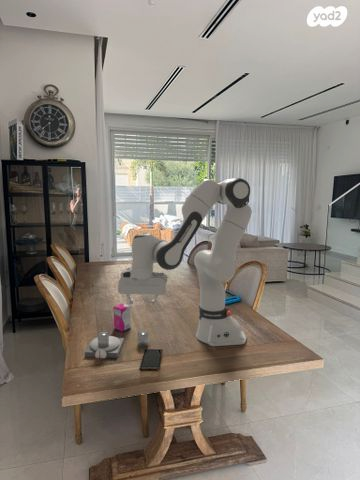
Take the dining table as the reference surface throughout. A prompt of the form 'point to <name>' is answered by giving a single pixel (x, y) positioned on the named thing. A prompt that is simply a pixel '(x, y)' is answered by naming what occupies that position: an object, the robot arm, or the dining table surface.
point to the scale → (110, 351)
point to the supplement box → (122, 317)
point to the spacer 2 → (143, 339)
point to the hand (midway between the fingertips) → (142, 304)
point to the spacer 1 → (103, 339)
